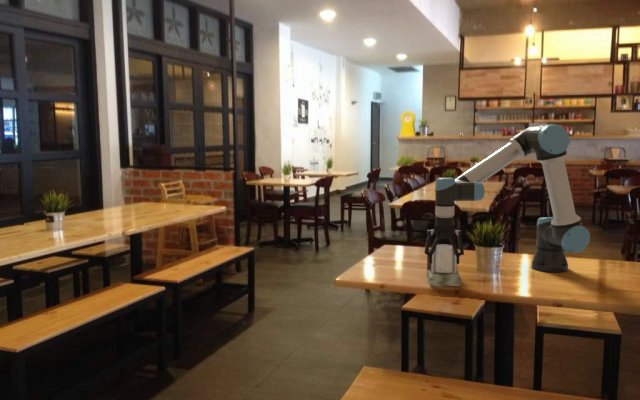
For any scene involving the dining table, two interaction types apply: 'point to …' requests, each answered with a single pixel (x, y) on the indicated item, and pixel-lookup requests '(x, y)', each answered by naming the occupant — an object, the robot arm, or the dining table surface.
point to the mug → (443, 258)
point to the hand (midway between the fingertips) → (443, 271)
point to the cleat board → (442, 276)
